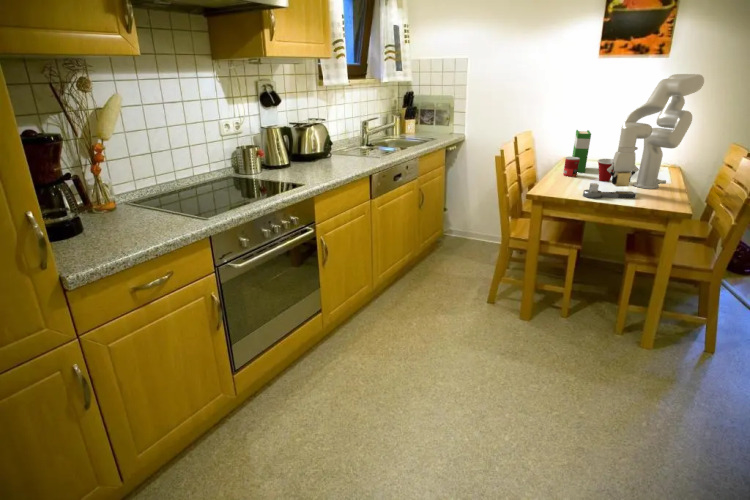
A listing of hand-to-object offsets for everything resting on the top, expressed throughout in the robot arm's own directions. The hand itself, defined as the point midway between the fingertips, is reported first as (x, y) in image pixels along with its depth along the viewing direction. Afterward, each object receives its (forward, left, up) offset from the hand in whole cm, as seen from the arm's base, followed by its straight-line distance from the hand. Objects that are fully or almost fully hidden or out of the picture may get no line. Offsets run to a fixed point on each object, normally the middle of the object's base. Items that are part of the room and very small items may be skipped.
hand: (620, 183), depth 240 cm
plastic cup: (-1, -25, -5) cm, 26 cm away
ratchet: (+9, +11, -5) cm, 15 cm away
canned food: (+15, -37, -5) cm, 41 cm away
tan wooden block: (0, 0, -1) cm, 1 cm away
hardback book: (+5, -55, -5) cm, 56 cm away
